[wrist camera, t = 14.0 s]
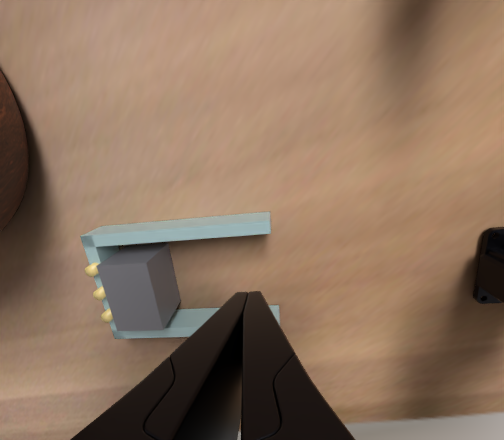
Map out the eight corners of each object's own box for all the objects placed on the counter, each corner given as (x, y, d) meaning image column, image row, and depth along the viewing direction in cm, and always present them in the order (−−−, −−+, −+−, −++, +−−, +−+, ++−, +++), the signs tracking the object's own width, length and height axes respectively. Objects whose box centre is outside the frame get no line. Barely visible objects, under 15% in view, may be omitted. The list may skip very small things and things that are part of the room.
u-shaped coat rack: (270, 211, 20) (269, 223, 17) (279, 314, 23) (280, 340, 20) (101, 226, 21) (73, 239, 18) (130, 319, 24) (109, 344, 21)
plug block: (168, 242, 22) (146, 263, 18) (181, 299, 23) (163, 330, 19) (123, 245, 22) (92, 266, 18) (139, 301, 24) (113, 331, 20)
